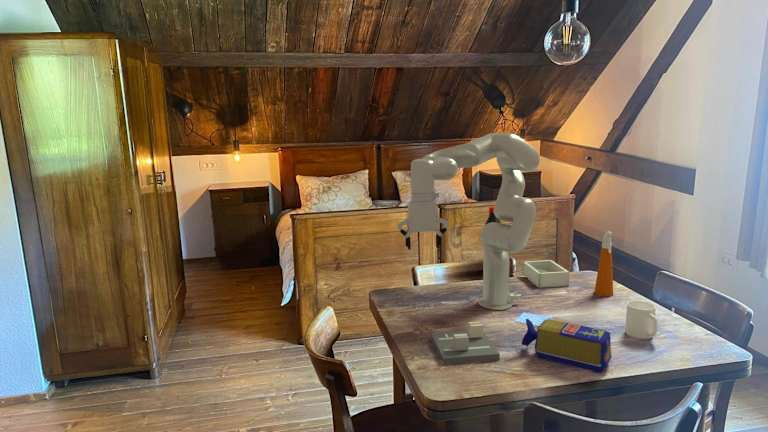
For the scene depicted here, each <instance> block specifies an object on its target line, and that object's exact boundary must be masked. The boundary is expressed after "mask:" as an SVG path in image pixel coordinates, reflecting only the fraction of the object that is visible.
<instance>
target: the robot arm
mask: <svg viewBox="0 0 768 432" xmlns="http://www.w3.org/2000/svg"><path fill="white" fill-rule="evenodd" d="M495 158H496V162H497V165H498V167H499V169H500V172H501V177H502V181H501V186H500V189H499V192H498V195H497V198H496V201H495V204H494V206H495V207H494V215H495V216H496V217H497V218H498V219H499V220H500V221H503V222H504V221H506V222H510V223H511V225H510V224H507V223H502V222H501V223H497V222H491V223H488V224H486V223H485V224H486V225H485V224H484V226H483V227H482V228H481V231H480V232H481V233H480V240H481V245H482V251H483V253H482V254H483V264H482V267H483V270H482V271H483V273H482V297H480V298H479V299H478V305H479V306H480V307H482V308H484V309H487V310H494V311H503V310H504V311H505V310H508V309H510V308H512V307H513V300H517V301H518V300H521V299H522V295H521V293H518V294H516V292H510V289H509V287H510V282H509V281H510V257H509V256H510V255H509V253H511V254H519V253H521V252H523V250H524V249H525V248H526V246H527V243H528V240H529V237H530V235H531V231H532V229H533V226H534V223H535V220H536V216H537V207H536V205H535V203H534V201H533V200H531V198H527V197H523V195H524V191H525V189H526V188H525V187H526V181H525V177H524V175H523V172H526V173H529V172H533V171H535V170H536V169H537V168H538V167H539V165H540V162H541V157H540V153H539V151H538V150H537V149H536V148H535V147H534V146H532V145H531V144H530V143H529V142H527V141H526V140H524V139H523V138H521V137H519V135H517V134H514V133H511V132H510V133H509V132H508V133H507V132H491V133H487V134H485V135H483V136H481V137H479V138H476V139H474V140H472V141H468V142H466V143H462V144H458V145H454V146H451V147H450V146H449V147H445V148H443V149H439V150H436V151H433V152H431V153H428V154H426V155H425V156H423V157H422V158H417V159H413V160H412V161H411V163H410V189H411V191H410V195H411V198H410V199H411V200H409V201H408V204H407V205H408V206H407V215H406V216H407V218H406V219H403V220H402V221H400V222H398V223H397V224H396V226H397V230H399V232H400V233H401V235H402V236H403V237H405V238H404V239H405V247H406V248H407V249H408V250H409V251H410V250H411V248H412V247H411V244H412V243H411V237H410V236H411V235H412V233H427V232H435V233H436V235H435V247H436V248H437V249H440V248H441V247H440V246H442V236H443V235H444V234H445V233H446V232H447V229H448V228H449V226H450V222H449V221H447V220H445V219H443V218H441V217H439V209H438V203H437V200H435V199H436V198H439V197H440V195H439V192H436V191H435V181H450V180H452V179H454V178H455V177H456V175H457V174H458V171H459V169H468V168H474V167H476V166H480V165H482V164H484V163H486V162H488V161H490V160H492V159H493V160H494V159H495ZM440 224H443V226H442V227H441V228H440ZM405 225H406V227H407V230H405V229H404V228H403V227H404V226H405ZM439 228H440V229H439Z"/></svg>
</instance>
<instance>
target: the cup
mask: <svg viewBox="0 0 768 432" xmlns="http://www.w3.org/2000/svg"><path fill="white" fill-rule="evenodd" d="M625 313H626V314H625V315H626V316H625V328H624V330H625V331H624V332H625V334H626V335H627V336H629V337H630V338H633V339H636V338H637V340H650V339H651V338H652V337H655V336H656V335H657V332H658V320H657V317H656V305H655V304H654V303H651V302H649V301H645V300H629V301H628V302H627V303H626V312H625ZM649 338H650V339H649Z"/></svg>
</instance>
